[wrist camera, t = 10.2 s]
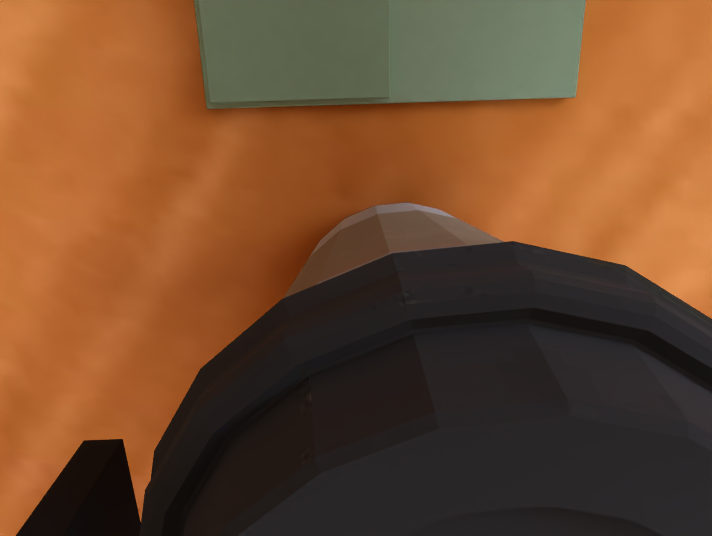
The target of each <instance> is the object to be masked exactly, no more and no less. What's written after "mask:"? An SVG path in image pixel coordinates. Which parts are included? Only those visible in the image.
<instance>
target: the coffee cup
mask: <svg viewBox="0 0 712 536" xmlns="http://www.w3.org/2000/svg"><path fill="white" fill-rule="evenodd" d="M140 536H712V319H711V318H709V317H708V316H706V315H704V314H703V313H701V312H700V311H698V310H696V309H695V308H693V307H691V306H690V305H688V304H687V303H685V302H683V301H682V300H680V299H679V298H677V297H675V296H674V295H672V294H671V293H669V292H667V291H666V290H664V289H663V288H661V287H659V286H658V285H656V284H655V283H653V282H651V281H650V280H648V279H646V278H645V277H643V276H642V275H640V274H638V273H637V272H635V271H634V270H632V269H630V268H629V267H627V266H626V265H621V264H616V263H612V262H607V261H602V260H598V259H593V258H588V257H584V256H579V255H574V254H570V253H565V252H560V251H556V250H551V249H546V248H542V247H537V246H533V245H528V244H523V243H519V242H514V241H511V242H503V241H501V240H499V239H497V238H495V237H493V236H491V235H489V234H487V233H485V232H483V231H481V230H479V229H477V228H475V227H473V226H471V225H469V224H467V223H465V222H463V221H461V220H459V219H457V218H455V217H453V216H451V215H449V214H447V213H445V212H443V211H441V210H439V209H435V208H431V207H426V206H422V205H417V204H413V203H408V202H406V203H396V204H386V205H376V206H373V207H370V208H368V209H366V210H363V211H361V212H359V213H356V214H354V215H352V216H349V217H347V218H345V219H344V220H342V221H341V222H340V223H339V224H338V225H337V226H336V227H334V228H333V229H332V230H331V231H330V232H329V233H328V234H326V235H325V236H324V237H323V238H322V239H321V240H320V241H319V243H318V245H317V246H316V248H315V249H314V251H313V252H312V254H311V255H310V257H309V259H308V260H307V262H306V263H305V265H304V266H303V268H302V269H301V271H300V273H299V274H298V276H297V277H296V279H295V280H294V282H293V283H292V285H291V287H290V288H289V290H288V291H287V293H286V294H285V296H284V297H283V299H282V300H280V301H279V302H278V303H277V304H276V305H275V306H273V307H272V308H271V309H270V310H269V311H268V312H266V313H265V314H264V315H263V316H262V317H261V318H259V319H258V320H257V321H256V322H255V323H254V324H252V325H251V326H250V327H249V328H248V329H247V330H245V331H244V332H243V333H242V334H241V335H240V336H238V337H237V338H236V339H235V340H234V341H233V342H231V343H230V344H229V345H228V346H227V347H225V348H224V349H223V350H222V351H221V352H220V353H218V354H217V355H216V356H215V357H214V358H213V359H211V360H210V361H209V362H208V363H207V364H206V365H204V366H203V367H202V368H201V369H200V371H199V372H198V374H197V376H196V378H195V380H194V381H193V383H192V385H191V387H190V388H189V390H188V392H187V394H186V396H185V397H184V399H183V401H182V403H181V404H180V406H179V408H178V410H177V411H176V413H175V415H174V417H173V419H172V420H171V422H170V424H169V426H168V427H167V429H166V431H165V433H164V435H163V436H162V438H161V440H160V442H159V443H158V445H157V447H156V449H155V451H154V457H153V466H152V474H151V481H150V482H149V484H148V486H147V488H146V489H145V495H144V503H143V512H142V520H141V529H140Z"/></svg>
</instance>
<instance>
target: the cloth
mask: <svg viewBox="0 0 712 536" xmlns="http://www.w3.org/2000/svg"><path fill="white" fill-rule="evenodd" d="M585 1H586V0H194V5H195V13H196V22H197V30H198V39H199V48H200V56H201V65H202V73H203V82H204V90H205V99H206V107H207V109H226V108H258V107H290V106H322V105H353V104H385V103H417V102H449V101H480V100H512V99H544V98H574V97H576V89H577V79H578V70H579V60H580V50H581V40H582V30H583V21H584V11H585Z"/></svg>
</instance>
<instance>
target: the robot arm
mask: <svg viewBox="0 0 712 536" xmlns="http://www.w3.org/2000/svg"><path fill="white" fill-rule="evenodd" d="M140 529H141V522H140V518H139V513H138V508H137V504H136V499H135V494H134V490H133V485H132V480H131V476H130V471H129V466H128V462H127V457H126V452H125V448H124V443H123V439H112V440H86V441H83V443H82V444H81V445H80V447H79V448H78V450H77V451H76V452H75V454H74V455H73V457H72V458H71V459H70V461H69V462H68V464H67V465H66V466H65V468H64V469H63V471H62V472H61V473H60V475H59V476H58V478H57V479H56V480H55V482H54V483H53V485H52V486H51V487H50V489H49V490H48V491H47V493H46V494H45V496H44V497H43V498H42V500H41V501H40V503H39V504H38V505H37V507H36V508H35V510H34V511H33V512H32V514H31V515H30V517H29V518H28V519H27V521H26V522H25V524H24V525H23V526H22V528H21V529H20V531H19V532H18V533H17V535H16V536H140Z"/></svg>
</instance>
